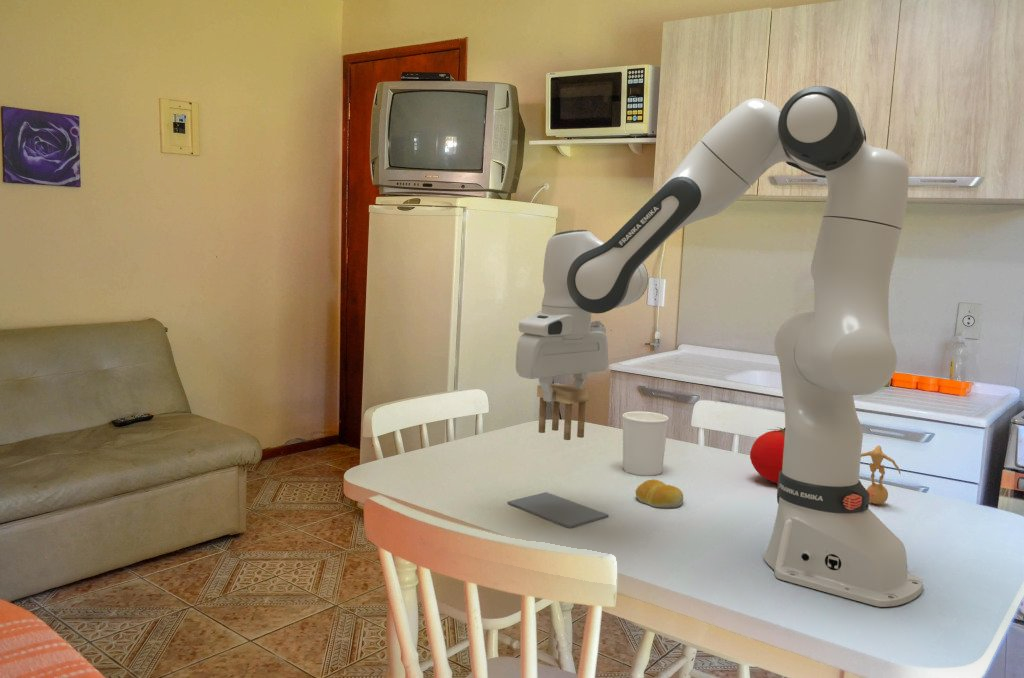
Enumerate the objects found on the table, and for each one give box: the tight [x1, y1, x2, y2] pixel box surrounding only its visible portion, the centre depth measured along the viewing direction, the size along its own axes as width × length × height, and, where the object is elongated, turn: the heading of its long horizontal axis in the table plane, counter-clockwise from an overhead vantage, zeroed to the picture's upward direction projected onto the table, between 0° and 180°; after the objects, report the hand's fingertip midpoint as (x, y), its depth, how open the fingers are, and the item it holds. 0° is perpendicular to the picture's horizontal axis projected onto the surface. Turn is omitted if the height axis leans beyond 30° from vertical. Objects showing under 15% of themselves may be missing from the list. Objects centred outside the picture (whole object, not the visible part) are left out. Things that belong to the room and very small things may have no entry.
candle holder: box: [622, 410, 670, 477], centre depth 177 cm, size 10×10×12 cm
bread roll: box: [635, 478, 684, 509], centre depth 156 cm, size 8×9×4 cm
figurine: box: [861, 445, 901, 506], centre depth 158 cm, size 8×6×12 cm
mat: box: [507, 491, 610, 529], centre depth 149 cm, size 16×10×1 cm, turn 42°
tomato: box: [749, 426, 785, 484], centre depth 172 cm, size 12×14×12 cm
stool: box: [536, 382, 590, 441], centre depth 147 cm, size 5×8×8 cm, turn 42°
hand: (562, 399), depth 146 cm, fingers closed on stool, 5 cm apart
